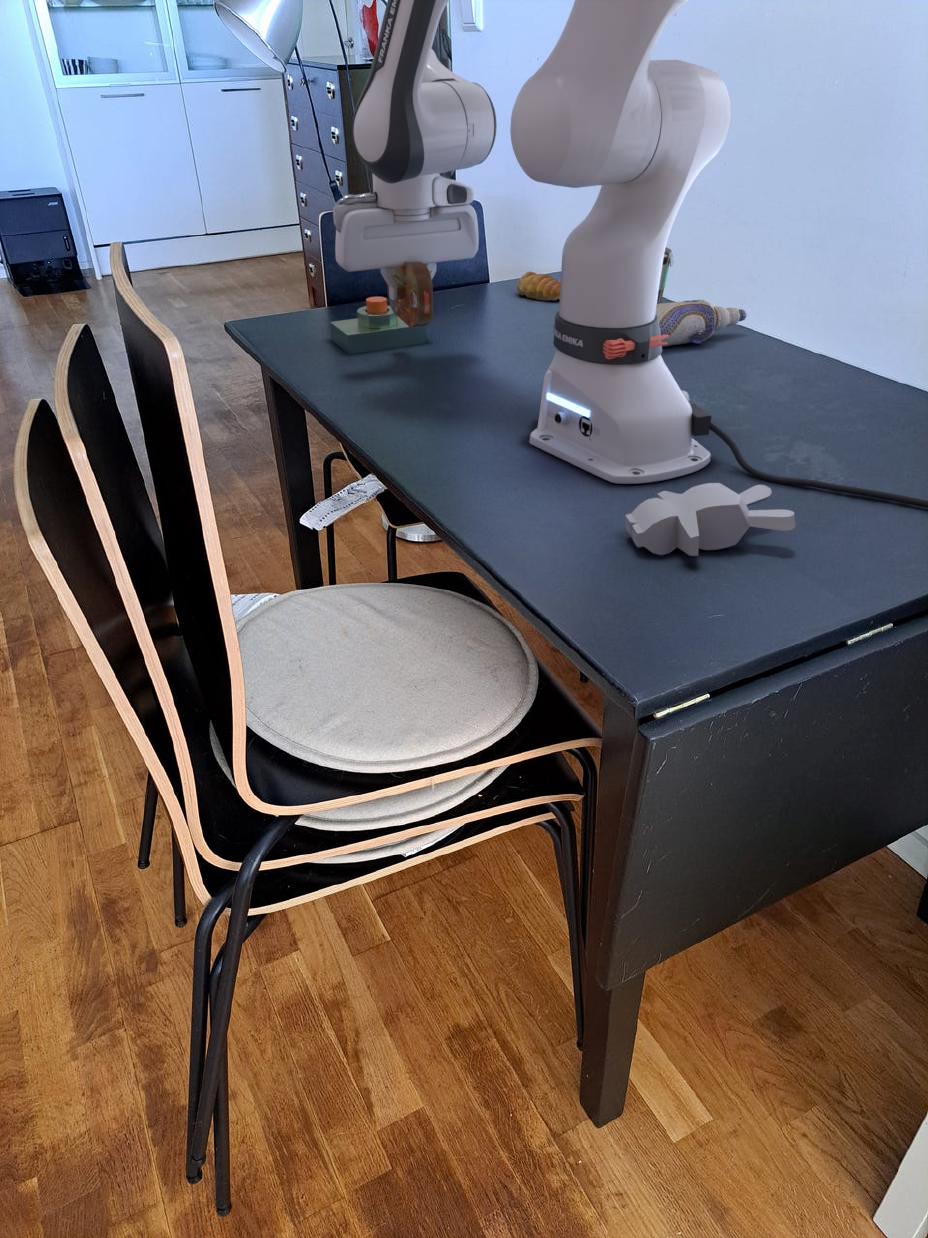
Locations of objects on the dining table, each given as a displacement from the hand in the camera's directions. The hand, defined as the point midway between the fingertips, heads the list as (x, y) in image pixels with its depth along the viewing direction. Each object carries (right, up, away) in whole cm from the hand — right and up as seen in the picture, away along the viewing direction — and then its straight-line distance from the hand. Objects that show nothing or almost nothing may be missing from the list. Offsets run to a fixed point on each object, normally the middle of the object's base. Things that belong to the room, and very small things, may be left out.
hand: (409, 297), depth 125 cm
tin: (0, -3, +2) cm, 3 cm away
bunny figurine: (+31, -38, -38) cm, 62 cm away
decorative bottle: (+41, -3, +13) cm, 43 cm away
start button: (-6, +2, +13) cm, 15 cm away
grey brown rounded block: (+39, +10, +33) cm, 52 cm away
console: (-6, -1, +16) cm, 17 cm away
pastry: (+22, +14, +39) cm, 47 cm away
